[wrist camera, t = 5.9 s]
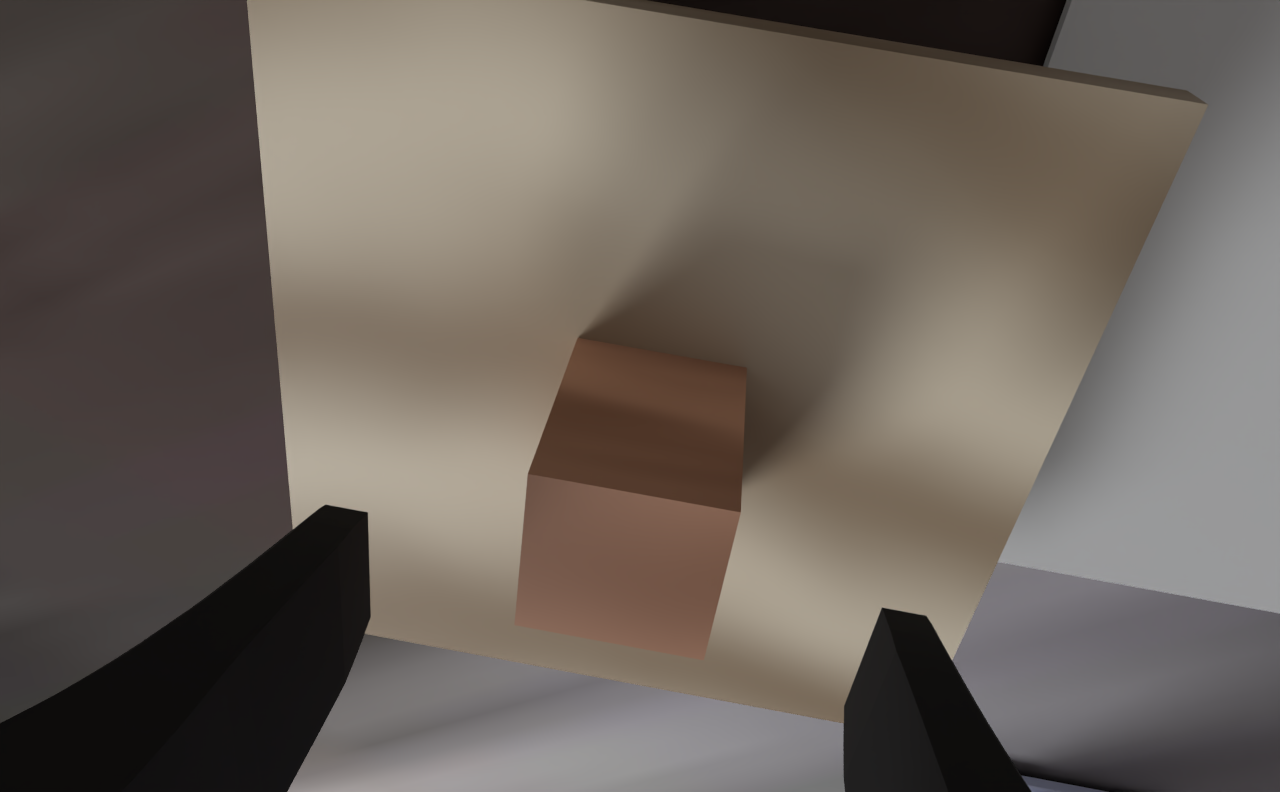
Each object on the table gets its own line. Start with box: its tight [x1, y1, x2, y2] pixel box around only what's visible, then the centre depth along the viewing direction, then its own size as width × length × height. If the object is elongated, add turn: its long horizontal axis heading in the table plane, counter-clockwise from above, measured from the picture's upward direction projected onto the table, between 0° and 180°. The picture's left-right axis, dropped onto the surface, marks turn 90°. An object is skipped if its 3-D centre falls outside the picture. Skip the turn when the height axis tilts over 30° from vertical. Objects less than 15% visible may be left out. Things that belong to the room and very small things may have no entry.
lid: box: [247, 0, 1208, 723], centre depth 16 cm, size 14×14×5 cm
